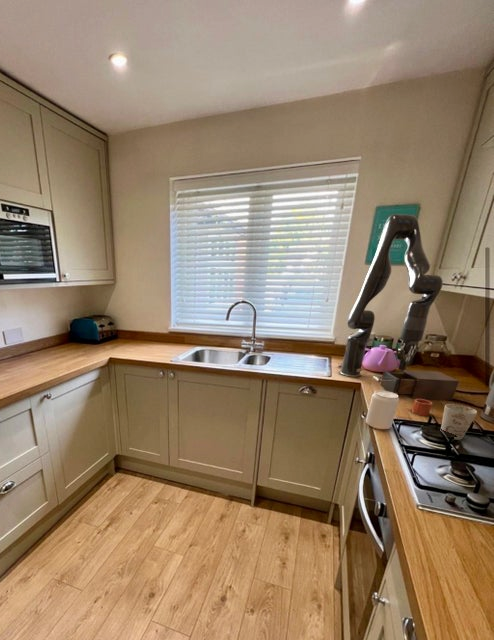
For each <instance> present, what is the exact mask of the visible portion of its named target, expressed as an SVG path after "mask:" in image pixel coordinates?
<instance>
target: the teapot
mask: <svg viewBox="0 0 494 640" xmlns="http://www.w3.org/2000/svg"><path fill="white" fill-rule="evenodd" d="M366 351H367V352H366ZM396 354H397V352H396V350H393V349H390V348H387V345H384V344H380V345H379V347H378V346H377V347H371V349H370V348H366V350H365V354H364V358H363V362H362V367H363V368H364V369H366V370H368V371H370V372H377V373H384V371H387V372H389V373H390V372H393V371H394V370H395V369H396V368H397V369H399V365H400V360H398V359H397V355H396Z"/></svg>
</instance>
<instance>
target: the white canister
mask: <svg viewBox="0 0 494 640" xmlns="http://www.w3.org/2000/svg"><path fill="white" fill-rule="evenodd" d="M399 402H400V399H399V395H398V393H392V392H389V391H387V390H375V391H374V393H372V394H371V398H370V402H369V406H368V410H367V414H366V418H365V423H366V424H367V425H368V426H370V427H371V428H374V429H378V430H389V429H391V428H392V426H393V423H394V419H395V416H396V412H397V409H398V405H399Z"/></svg>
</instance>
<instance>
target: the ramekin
mask: <svg viewBox="0 0 494 640" xmlns="http://www.w3.org/2000/svg"><path fill="white" fill-rule="evenodd" d="M432 406H433V402H432V401H430V400H429V399H421V398H414V401H413V405H412V408H411V412H412V414H415V415H417V416H423V417H428V416H429V415H430V412H431V410H432Z"/></svg>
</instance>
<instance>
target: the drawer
mask: <svg viewBox="0 0 494 640" xmlns="http://www.w3.org/2000/svg"><path fill="white" fill-rule="evenodd" d="M372 379H373V380H374V381H376V382H377V383H379V384H380V387H382V388H383V389H385V391H388V392H392V393H395V394H403V395H408V394H413V393H414V389H415V386H416V383H417V379H415V378H413V377H411V376H410V375H408V374H406V373H402V372H395V371H394V372H393V371H391V372H387V371H384V372H382V376H376V375H373V376H372Z"/></svg>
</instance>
